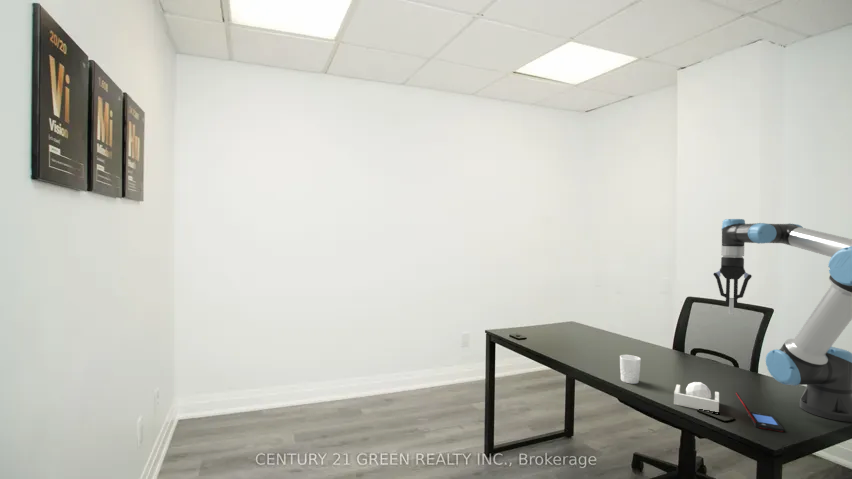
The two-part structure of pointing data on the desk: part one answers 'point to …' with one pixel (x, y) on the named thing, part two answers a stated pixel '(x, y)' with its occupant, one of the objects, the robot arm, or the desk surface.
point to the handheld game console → (762, 419)
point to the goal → (696, 401)
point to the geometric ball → (698, 390)
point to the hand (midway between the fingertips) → (731, 314)
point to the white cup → (630, 368)
